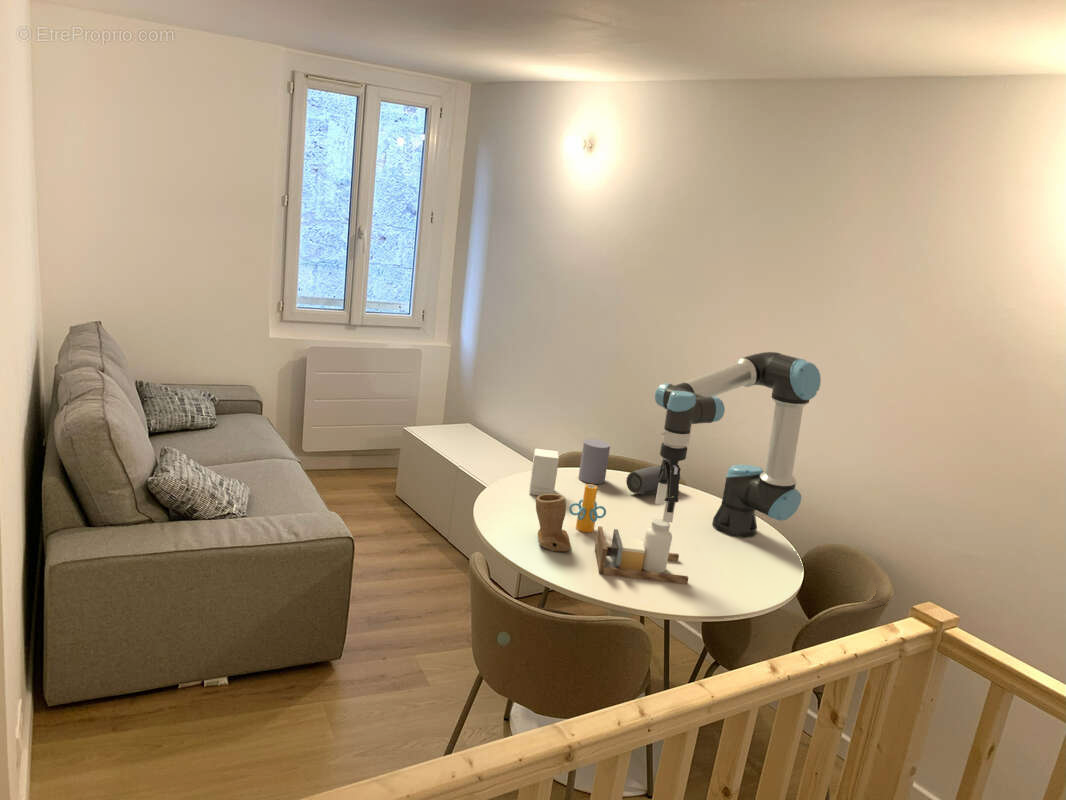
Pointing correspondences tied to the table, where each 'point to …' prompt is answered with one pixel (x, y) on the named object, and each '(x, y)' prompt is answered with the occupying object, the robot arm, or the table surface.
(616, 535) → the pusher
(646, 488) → the bluetooth speaker
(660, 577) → the lane
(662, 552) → the pill bottle
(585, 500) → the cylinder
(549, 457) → the supplement box
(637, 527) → the table surface
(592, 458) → the container
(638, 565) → the cream cube
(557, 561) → the table surface
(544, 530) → the brown felt boot
